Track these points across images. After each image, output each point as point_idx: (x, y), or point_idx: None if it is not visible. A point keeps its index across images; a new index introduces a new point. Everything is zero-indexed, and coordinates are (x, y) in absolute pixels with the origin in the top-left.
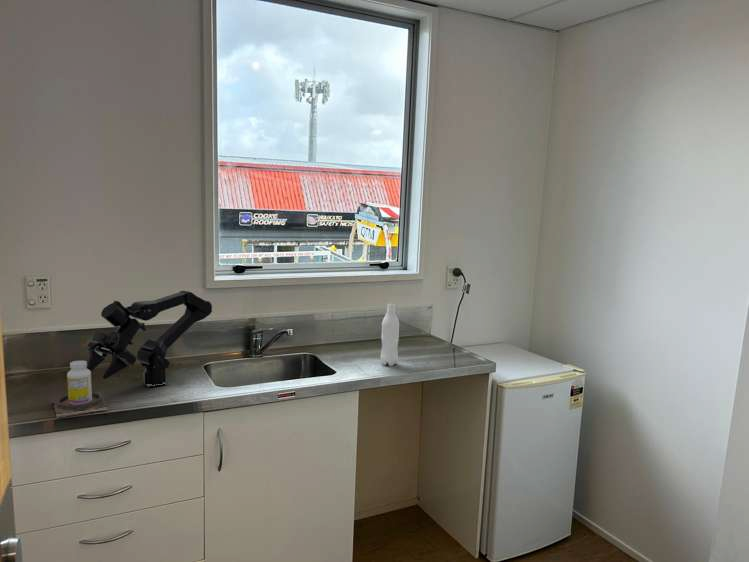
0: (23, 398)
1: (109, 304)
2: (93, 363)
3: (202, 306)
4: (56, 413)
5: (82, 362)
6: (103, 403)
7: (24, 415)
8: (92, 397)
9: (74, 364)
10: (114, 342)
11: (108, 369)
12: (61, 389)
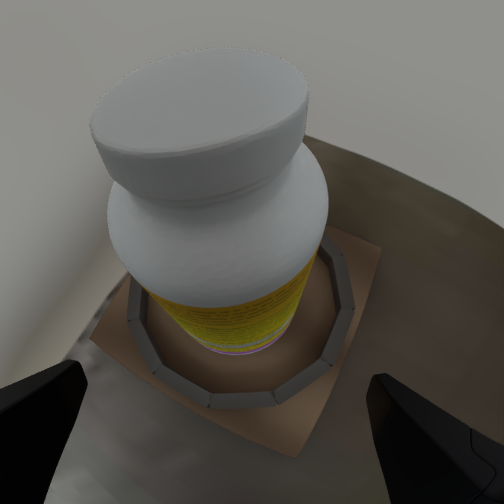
0: (474, 229)
1: None
2: (416, 479)
3: None
4: None
5: (143, 105)
6: (127, 352)
7: (319, 157)
8: (253, 380)
9: (172, 57)
10: None
11: (5, 388)
12: (496, 358)
